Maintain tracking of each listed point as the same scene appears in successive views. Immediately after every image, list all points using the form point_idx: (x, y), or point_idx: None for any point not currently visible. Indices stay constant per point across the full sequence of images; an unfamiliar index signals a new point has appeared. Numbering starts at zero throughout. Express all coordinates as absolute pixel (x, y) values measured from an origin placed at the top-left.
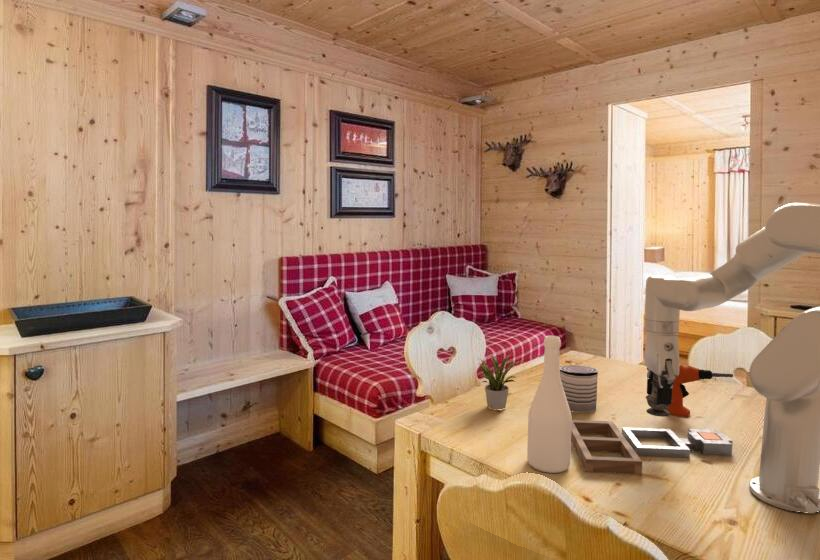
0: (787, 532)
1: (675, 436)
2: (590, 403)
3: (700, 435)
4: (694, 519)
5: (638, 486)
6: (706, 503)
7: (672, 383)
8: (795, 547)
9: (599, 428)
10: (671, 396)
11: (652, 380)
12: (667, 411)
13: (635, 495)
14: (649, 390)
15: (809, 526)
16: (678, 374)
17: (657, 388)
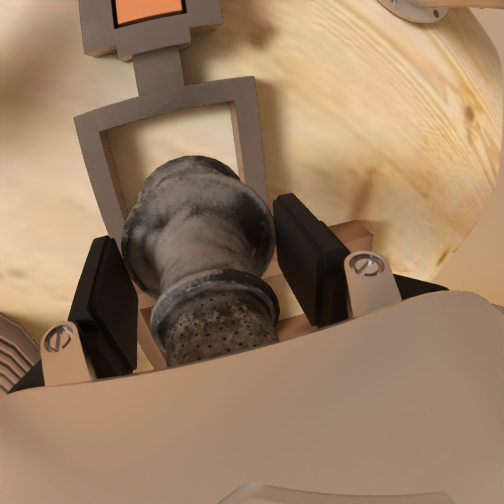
0: (480, 51)
1: (141, 103)
2: (9, 340)
3: (139, 18)
4: (464, 165)
5: (393, 230)
6: (438, 127)
7: (443, 290)
8: (496, 67)
9: (147, 316)
10: (310, 213)
11: (125, 354)
12: (193, 171)
13: (414, 237)
14: (136, 311)
15: (465, 8)
16: (481, 298)
17: (323, 325)
